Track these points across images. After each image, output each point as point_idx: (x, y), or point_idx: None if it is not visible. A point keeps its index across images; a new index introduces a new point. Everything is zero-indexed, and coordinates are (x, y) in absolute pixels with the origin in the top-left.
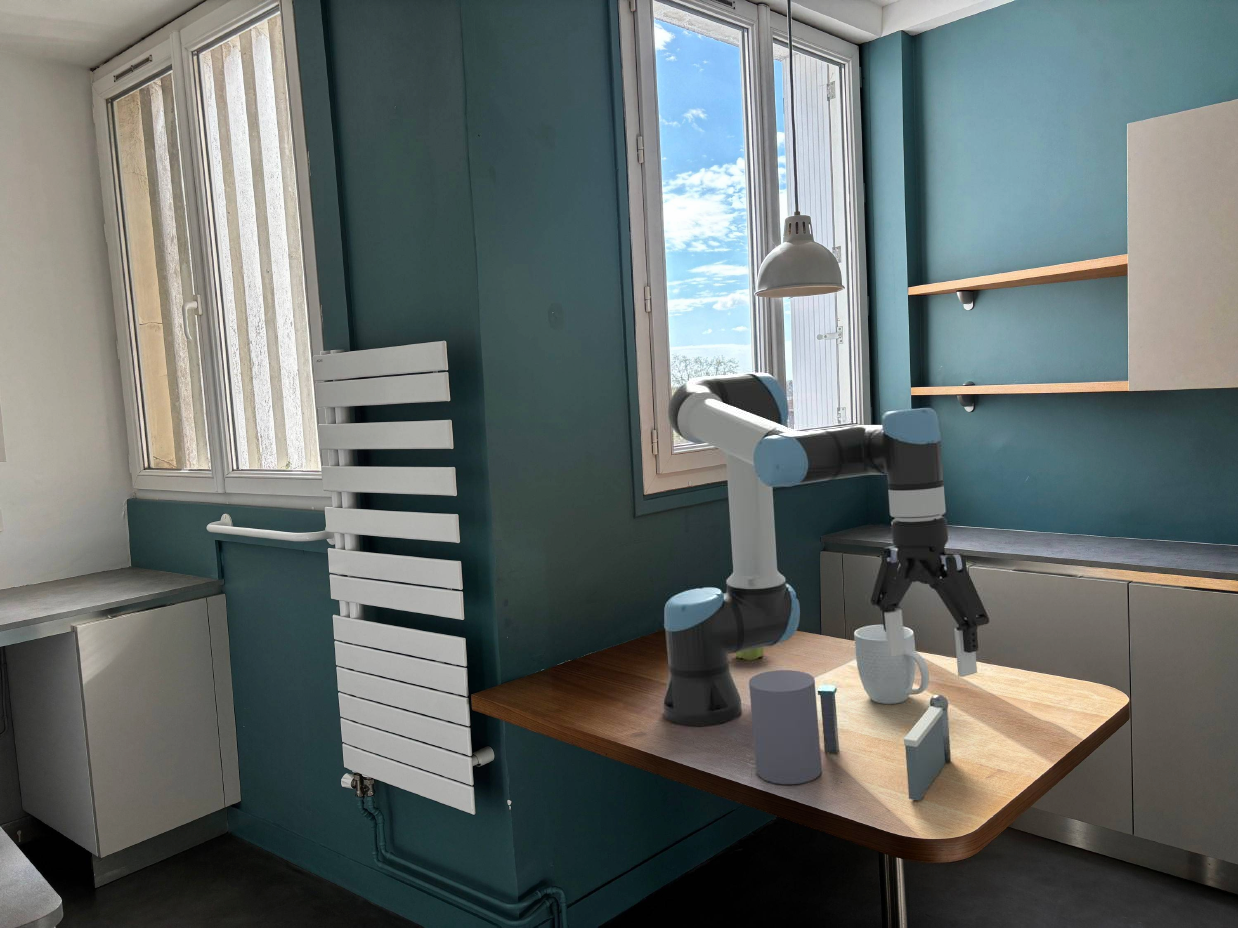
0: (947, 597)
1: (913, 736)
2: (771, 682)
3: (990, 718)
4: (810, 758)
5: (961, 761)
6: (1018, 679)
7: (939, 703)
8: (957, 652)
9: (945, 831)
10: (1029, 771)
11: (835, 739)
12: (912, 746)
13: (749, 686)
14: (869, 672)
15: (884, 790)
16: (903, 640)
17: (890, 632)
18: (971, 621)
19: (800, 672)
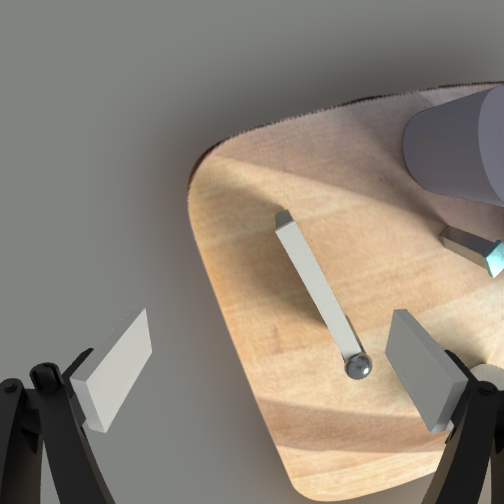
0: (56, 477)
1: (291, 241)
2: None
3: (369, 424)
4: (415, 150)
5: (324, 337)
6: (393, 477)
7: (351, 362)
8: (115, 337)
9: (204, 188)
10: (256, 369)
11: (448, 239)
12: (281, 226)
13: None
14: (497, 377)
15: (329, 206)
16: (397, 370)
17: (421, 347)
18: (6, 386)
19: None
